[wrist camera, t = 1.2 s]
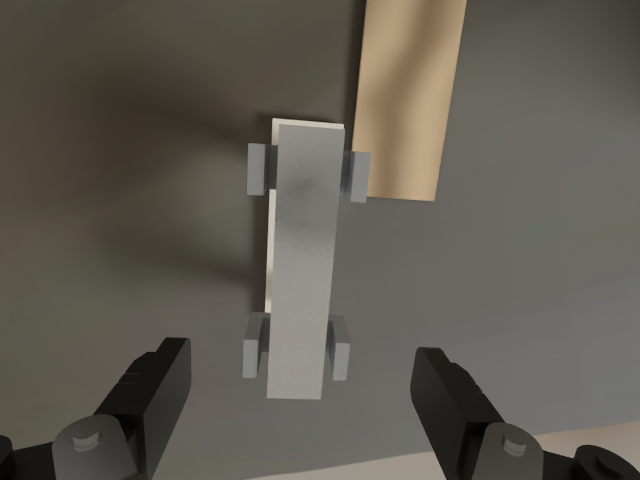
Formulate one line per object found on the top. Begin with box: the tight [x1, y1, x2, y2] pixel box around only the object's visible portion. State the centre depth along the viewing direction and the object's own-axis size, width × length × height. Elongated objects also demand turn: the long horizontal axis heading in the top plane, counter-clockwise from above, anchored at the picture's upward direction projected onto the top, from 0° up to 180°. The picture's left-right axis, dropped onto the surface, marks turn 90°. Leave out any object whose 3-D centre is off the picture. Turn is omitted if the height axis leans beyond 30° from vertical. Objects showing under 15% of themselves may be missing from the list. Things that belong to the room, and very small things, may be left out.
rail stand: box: [243, 118, 371, 381], centre depth 27 cm, size 7×19×12 cm, turn 176°
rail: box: [267, 124, 345, 399], centre depth 22 cm, size 4×17×4 cm, turn 176°
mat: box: [351, 0, 467, 201], centre depth 30 cm, size 8×19×1 cm, turn 176°
